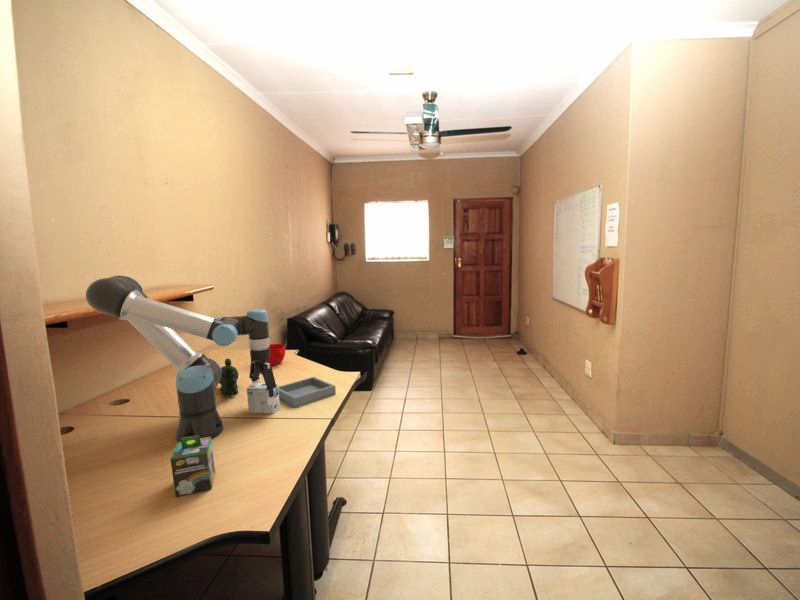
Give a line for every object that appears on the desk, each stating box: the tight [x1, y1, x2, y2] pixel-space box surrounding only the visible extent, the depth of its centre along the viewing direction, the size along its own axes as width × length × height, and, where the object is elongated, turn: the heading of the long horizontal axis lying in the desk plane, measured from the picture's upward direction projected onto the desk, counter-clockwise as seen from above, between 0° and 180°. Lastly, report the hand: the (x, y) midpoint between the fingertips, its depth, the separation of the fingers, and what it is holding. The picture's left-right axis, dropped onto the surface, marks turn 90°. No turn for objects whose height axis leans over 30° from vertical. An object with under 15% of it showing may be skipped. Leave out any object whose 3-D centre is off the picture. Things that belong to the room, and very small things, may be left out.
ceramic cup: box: [267, 343, 286, 366], centre depth 220 cm, size 13×17×10 cm
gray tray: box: [278, 376, 336, 408], centre depth 173 cm, size 20×18×4 cm
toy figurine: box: [219, 358, 239, 397], centre depth 179 cm, size 9×19×25 cm
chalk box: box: [170, 435, 216, 498], centre depth 108 cm, size 9×9×15 cm
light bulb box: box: [246, 382, 281, 415], centre depth 158 cm, size 11×7×11 cm, turn 84°
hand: (263, 400), depth 158 cm, fingers closed on light bulb box, 12 cm apart
